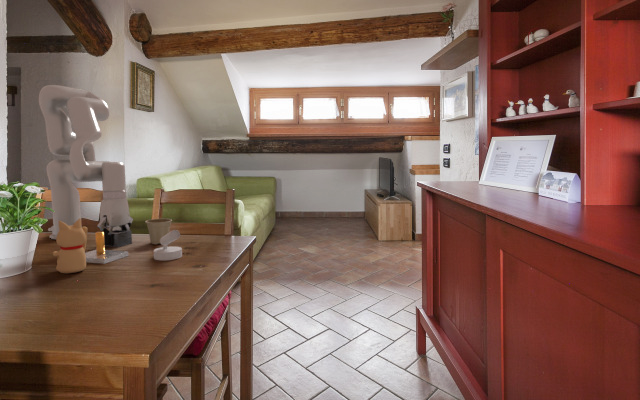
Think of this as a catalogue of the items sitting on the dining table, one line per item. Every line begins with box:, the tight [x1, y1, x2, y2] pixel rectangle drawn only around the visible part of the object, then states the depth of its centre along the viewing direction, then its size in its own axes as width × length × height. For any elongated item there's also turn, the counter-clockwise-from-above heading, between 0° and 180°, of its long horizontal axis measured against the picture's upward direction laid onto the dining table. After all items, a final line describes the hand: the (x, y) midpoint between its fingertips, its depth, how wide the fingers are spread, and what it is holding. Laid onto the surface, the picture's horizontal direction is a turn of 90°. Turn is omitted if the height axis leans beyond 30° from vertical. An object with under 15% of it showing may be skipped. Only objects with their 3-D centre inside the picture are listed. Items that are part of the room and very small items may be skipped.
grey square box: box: [104, 229, 133, 248], centre depth 141 cm, size 7×7×5 cm
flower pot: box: [144, 218, 173, 245], centre depth 145 cm, size 9×9×9 cm
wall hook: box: [153, 229, 183, 261], centre depth 123 cm, size 9×10×10 cm
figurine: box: [52, 218, 88, 274], centre depth 108 cm, size 9×10×15 cm
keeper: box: [85, 231, 129, 265], centre depth 121 cm, size 12×10×8 cm
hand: (117, 242), depth 141 cm, fingers closed on grey square box, 7 cm apart
